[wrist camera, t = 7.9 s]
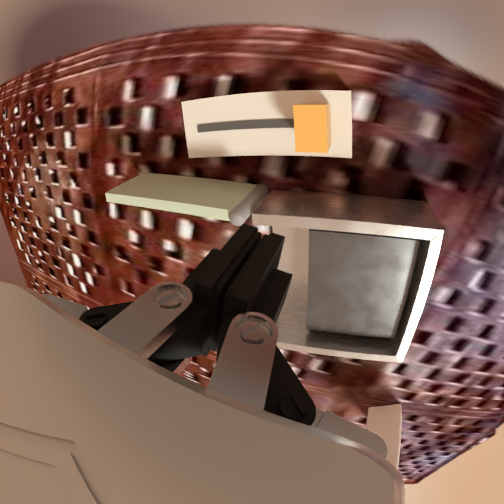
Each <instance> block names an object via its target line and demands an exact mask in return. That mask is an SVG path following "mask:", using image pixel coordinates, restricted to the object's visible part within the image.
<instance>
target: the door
mask: <svg viewBox="0 0 504 504" xmlns="http://www.w3.org/2000/svg"><path fill="white" fill-rule="evenodd" d="M268 192H269V189H268V187H267V186H266V185H265V184H262V183H261V184H258V185H256V184H249V183H241V182H233V181H225V180H217V179H208V178H199V177H189V176H178V175H167V174H155V173H143V174H140V175H139V176H137V177H135V178H133V179H131V180H129V181H127V182H125V183H123V184H121V185H119V186H117V187H115V188H114V189H112V190H110V191H108V192H106V193H105V194H106V200H107V202H113V203H120V204H126V205H133V206H140V207H146V208H153V209H159V210H166V211H172V212H178V213H184V214H190V215H196V216H202V217H208V218H214V219H220V220H226V221H230V222H231V223H232V224H233V225H236V226H240V225H242V224H243V223H244V222H245V221H246V219H247V218H248V217H249V216H250V214H251V213H252V212H253V211H254V210H255V208H256V207H257V206H258V205H259V204H260V202H261V201H262V200H263V199H264V198H265V196H266V195H267V194H268Z"/></svg>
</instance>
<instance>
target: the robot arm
mask: <svg viewBox="0 0 504 504" xmlns="http://www.w3.org/2000/svg"><path fill="white" fill-rule="evenodd" d="M260 240H261V241H260ZM284 240H285V236H282V235H279V234H275V233H272V232H271V233H270V235H266V234H265V235H264V236H263V238H262V239H261V233H260V232H258V229H257V228H256V227H253V226H249V225H246V224H243V225H242V226H241V227H240V228H239V229H238V231H237V232H236V233H235V234H234V235H233V236H232V238H231V239H230V240H229V241H228V242H227V243H226V245H225V246H224V247H223V248H222V249H221V250H218V249H213V250H211V252H210V253H209V254H208V255H207V256H206V257H205V258H204V259H203V260H202V262H201V263H200V264H199V265H198V266H197V267H196V268H195V269H194V271H193V272H192V273H191V274H190V275H189V276H188V277H187V278H186V280H185V281H184V282H183V283H182V284H181V283H179V282H172V281H170V282H163V283H159V284H157V285H155V286H154V287H152V288H151V289H150V290H149V291H147V292H146V293H145V294H143V295H142V296H141V297H139V298H138V299H137V300H136V301H133V302H127V303H121V304H114V305H108V306H101V307H95V308H92V309H89V310H88V309H87V307H86V306H83V305H80V304H77V303H74V302H71V301H68V300H65V299H62V298H59V297H56V296H53V295H49V294H46V295H41V294H39V293H38V292H36V291H34V290H32V289H30V288H28V287H25V286H23V285H20V284H17V283H12V282H5V281H4V282H3V281H0V504H405V488H404V483H403V480H402V477H401V475H400V473H399V472H398V470H397V469H396V468H395V467H394V466H393V465H392V464H391V463H390V462H389V461H387V460H386V456H387V451H388V450H387V446H386V443H385V442H384V440H383V439H382V438H381V437H380V436H378V435H377V434H375V433H373V432H371V431H368V430H366V429H364V428H362V427H360V426H358V425H356V424H354V423H352V422H350V421H347V420H345V419H343V418H341V417H339V416H337V415H335V414H333V413H332V412H330V411H328V410H327V411H326V412H323V411H321V410H319V409H317V408H316V407H315V405H314V403H313V401H312V399H311V398H310V396H309V395H308V393H307V391H306V390H305V388H304V387H303V385H302V384H301V382H300V381H299V379H298V378H297V376H296V375H295V373H294V372H293V370H292V369H291V367H290V366H289V364H288V363H287V361H286V359H285V358H284V356H283V355H282V353H281V352H280V350H279V349H278V347H277V345H276V343H277V338H278V329H277V326H276V322H277V320H278V317H279V315H280V312H281V310H282V307H283V305H284V302H285V299H286V296H287V293H288V290H289V287H290V283H291V280H292V276H293V274H291V273H287V272H284V271H281V270H278V265H279V261H280V257H281V253H282V249H283V245H284ZM217 348H218V349H217ZM216 349H217V359H216V366H215V369H214V371H213V374H212V377H211V380H210V383H209V386H208V388H206V387H203V386H201V385H199V384H197V383H194V382H192V381H190V380H188V379H186V378H184V377H181V376H179V374H180V373H181V372H182V371H183V370H184V369H185V368H186V367H187V366H188V364H189V363H190V361H191V360H192V357H194V356H198V355H203V356H205V357H207V355H208V353H209V352H210V350H212V351H215V350H216Z"/></svg>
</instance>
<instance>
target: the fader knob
mask: <svg viewBox="0 0 504 504" xmlns="http://www.w3.org/2000/svg"><path fill="white" fill-rule="evenodd" d="M293 115H294V132H295V152H315V153H328V151H329V149H330V146H331V114H330V104H318V103H302V104H296V105H293Z"/></svg>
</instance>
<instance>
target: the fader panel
mask: <svg viewBox="0 0 504 504" xmlns="http://www.w3.org/2000/svg"><path fill="white" fill-rule="evenodd" d="M181 103H182V111H183V119H184V127H185V134H186V141H187V149H188V156H189V158H200V157H220V156H263V155H278V156H320V157H340V158H352V108H351V91H340V90H291V91H270V92H255V93H244V94H234V95H225V96H217V97H210V98H203V99H196V100H190V101H184V102H181ZM302 103H318V104H330V114H331V146H330V149H329V151H328V153H315V152H295V132H294V115H293V105H296V104H302Z"/></svg>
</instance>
